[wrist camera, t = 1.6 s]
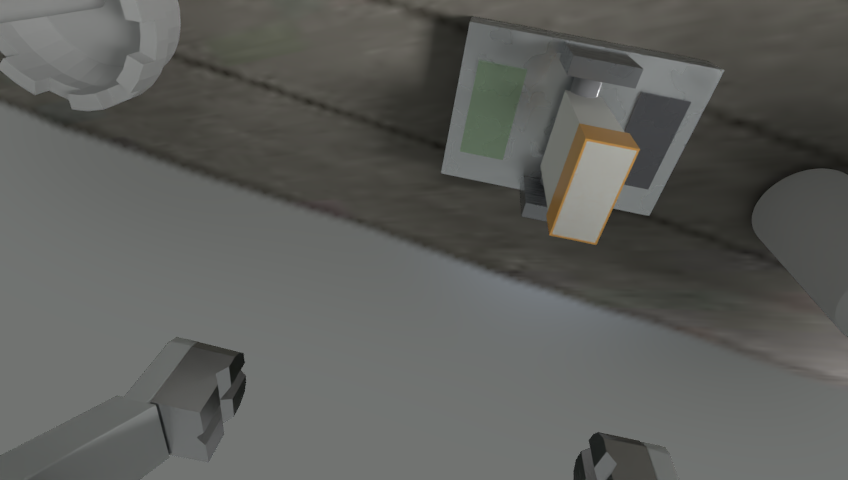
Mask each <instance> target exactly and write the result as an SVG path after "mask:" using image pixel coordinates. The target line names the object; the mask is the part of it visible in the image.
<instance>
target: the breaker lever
mask: <svg viewBox="0 0 848 480" xmlns="http://www.w3.org/2000/svg"><path fill="white" fill-rule="evenodd" d="M601 85H602V82H598V81H593V80H588V79H583V78H578V77H574V80H573V83H572V86H571V89H570V91H568V90H565V92H564V95H563V98H562V101H561V104H560V107H559V111H558V114H557V117H556V120H555V123H554V126H553V129H552V132H551V135H550V138H549V141H548V144H547V147H546V150H545V153H544V156H543V159H542V162H541V165H540V167H541V173H542V176H541V179H540V183H541V184H542V185H543V186H544V190H545V196H546V202H547V208H548V212H547V214H546V218H547V224H548V230H549V235H551V236H556V237H560V238H565V239H570V240H575V241H580V242H585V243H589V244H594V245H597V243H598V240H599V238H600V236H601V234H602V232H603V229H604V227H605V225H606V223H607V221H608V218H609V216H610V214H611V212H612V210H613V208H614V205H615V203H616V201H617V199H618V197H619V194H620V192H621V190H622V188H623V186H624V183H625V181H626V179H627V177H628V175H629V173H630V170H631V168H632V166H633V164H634V162H635V159H636V157H637V155H638V153H639V151H640V148H639V147H638V145H637V144H636V142H635V141H634V139H633V138H632V136H631V135H630V133H625V132H624V130H623V129H622V127H621V126H620V124H619V123H618V121H617V120H616V118H615V116H614V115H613V113H612V112H611V110H610V109H609V107H608V106H607V104H606V103H605V101H604V100H603V98H602V97H599V96H598V93H599V90H600V88H601Z"/></svg>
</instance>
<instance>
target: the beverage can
mask: <svg viewBox="0 0 848 480" xmlns="http://www.w3.org/2000/svg"><path fill="white" fill-rule="evenodd" d="M752 227H753V230H754V232H755V234H756V235H757V237H758V238H759V239H760V240H761V241H762V242H763V243H764V245H765V246H766V247H767V248H768V249H769V250H770V251H771V253H772V254H773V255H774V256H775V257H776V258H777V259H778V260H779V262H780V263H781V264H782V265H783V266H784V267H785V268H786V270H787V271H788V272H789V273H790V274H791V275H792V276H793V277H794V279H795V280H796V281H797V282H798V283H799V284H800V285H801V287H802V288H803V289H804V290H805V291H806V292H807V293H808V295H809V296H810V297H811V298H812V299H813V300H814V301H815V302H816V304H817V305H818V306H819V307H820V308H821V309H822V310H823V312H824V313H825V314H826V315H827V316H828V317H829V318H830V319H831V321H832V322H833V323H834V324H835V325H836V326H837V327H838V329H839V330H840V331H841V332H842V333H843V334H844V335H846V336H847V337H848V175H847V174H845V173H843V172H841V171H838V170H833V169H824V168H820V169H810V170H805V171H801V172H798V173H795V174H792V175H790V176H788V177H786V178H784V179H782V180H780V181H779V182H777V183H776V184H774V185H773V186H772V187H770V188H769V189H768V190H767V191H766V192H765V193H764V194H763V195H762V196H761V198H760V199H759V200H758V202H757V204H756V206H755V208H754V210H753V214H752Z"/></svg>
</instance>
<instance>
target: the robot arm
mask: <svg viewBox="0 0 848 480" xmlns="http://www.w3.org/2000/svg"><path fill="white" fill-rule="evenodd" d="M244 363H245V361H244V353H241V352H236V351H233V350H228V349H224V348H220V347H216V346H212V345H208V344H204V343H200V342H196V341H192V340H188V339H183V338H179V337H176V338H174V339H173V340H171V341H170V342H169V343H167V345H166V346H165V347H164V348H163V350H162V351H161V352H160V353H159V355H158V356H157V357H156V358H155V360H154V361H153V362H152V363H151V364H150V365H149V367H148V368H147V369H146V370H145V371H144V373H143V374H142V375H141V376H140V378H139V379H138V380H137V381H136V382H135V384H134V385H133V386H132V387H131V389H130V390H129V391H128V392H127V393H126V395H125V396H124V397H120V396H115V397H113V398H111V399H109V400H108V401H106V402H104V403H102V404H100V405H98V406H96V407H94V408H92V409H90V410H88V411H86V412H84V413H82V414H80V415H78V416H76V417H74V418H72V419H70V420H69V421H66V422H65V423H63V424H61V425H59V426H57V427H55V428H53V429H51V430H49V431H47V432H45V433H43V434H41V435H39V436H37V437H35V438H34V439H31V440H30V441H27V442H26V443H24V444H22V445H20V446H18V447H16V448H14V449H12V450H10V451H8V452H6V453H4V454H2V455H0V480H140V479H142V478H143V477H144V476H145V475H147V474H148V473H149V472H151V471H152V470H153V469H155V468H156V467H157V466H159V465H160V464H161V463H163V462H164V461H165V460H167V459H168V458H169V455H173V456H178V457H184V458H189V459H194V460H199V461H204V462H209V461H210V459H211V457H212V455H213V453H214V452H215V450H216V448H217V446H218V444H219V443H220V441H221V439H222V437H223V435H224V429H223V423H224V422H226V421H227V420H229V419H230V418H232V417H234V415H235V413H236V411H237V410H238V408H239V406H240V403H241V401H242V398H243V395H244V392H245V386H246V376H245V374H244V373H243V372H242V371H241V368H242V367H243V365H244ZM589 444H590V448H588V449H585V450H583V451H581V452H580V454H579V455H578V457H577V459H576V462H575V467H574V480H679V478H678V475H677V473H676V470H675V467H674V464H673V462H672V459H671V456H670V453H669V452H668V451H667V449H666V448H665V447H662V446H658V445H653V444H649V443H644V442H640V441H638V440H633V439H628V438H623V437H619V436H614V435H609V434H604V433H600V432H597V433H595V434H593V435H592V437H591V438H590V439H589Z"/></svg>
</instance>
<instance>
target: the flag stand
mask: <svg viewBox="0 0 848 480" xmlns="http://www.w3.org/2000/svg"><path fill="white" fill-rule="evenodd" d="M180 28H181V20H180V8H179V4H178V0H0V51H1V52H2V53H3V54H4V55H5V56H6V58H3V60H2V61H1V63H0V71H2V72H3V73H4V74H5V75H6V76H8V77H9V78H10V79H11V80H13V81H14V82H15V83H16V84H18V85H20V86H21V87H23V88H24V89H26V90H27V91H29V92H30V93H32V94H34V95H37V94H40V93H43V92H46V91H51V92H53V93H55V94H57V95H59V96H61V97H63V98H66V99H68V100H69V102H70V105H71V108H72V109H73V110H82V111H95V110H103V109H107V108H109V107H111V106H114V105H116V104H119V103H121V102H124V101H126V100H128V99H131V98H133V97H136V96H138V95H141V94H142V93H144V92H145V91H146V90H147V89H149V88H150V87H151V86H152V85H153V84H154V82H155V81H156V80H157V78H158V77H159V75H160V74H161V72H162V69H163V66H165V65H166V64H167V63H168V62H169V60H170V59H171V57H172V56H173V54H174V53H175V50H176V47H177V45H178V42H179V37H180Z"/></svg>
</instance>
